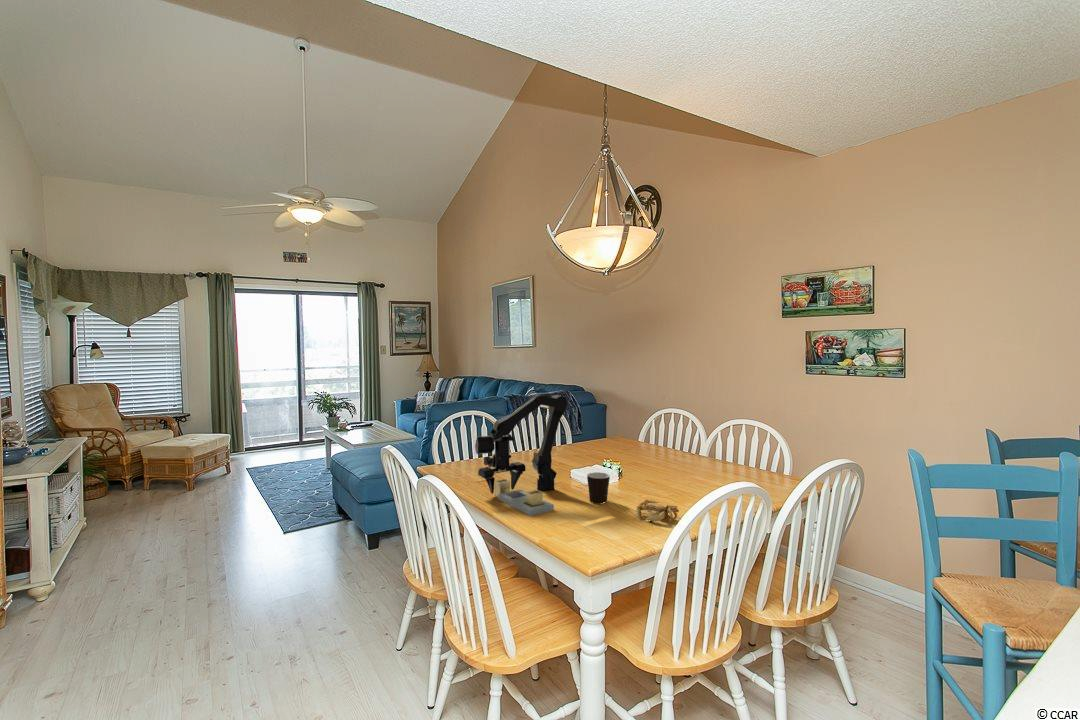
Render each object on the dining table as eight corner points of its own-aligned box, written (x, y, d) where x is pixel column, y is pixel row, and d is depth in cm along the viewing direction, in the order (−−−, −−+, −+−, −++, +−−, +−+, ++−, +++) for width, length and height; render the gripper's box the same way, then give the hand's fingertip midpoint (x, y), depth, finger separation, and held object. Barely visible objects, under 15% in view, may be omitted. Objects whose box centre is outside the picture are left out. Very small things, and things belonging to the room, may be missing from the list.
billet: (504, 493, 202) (504, 478, 202) (509, 496, 198) (509, 480, 198) (494, 495, 199) (494, 480, 199) (500, 498, 196) (500, 482, 195)
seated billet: (535, 506, 183) (535, 489, 183) (542, 509, 180) (542, 492, 179) (525, 508, 181) (525, 491, 181) (532, 511, 177) (532, 494, 177)
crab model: (625, 516, 176) (625, 501, 176) (649, 508, 184) (649, 493, 184) (661, 529, 164) (661, 512, 164) (685, 520, 172) (685, 504, 172)
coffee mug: (593, 496, 198) (593, 471, 197) (613, 500, 193) (613, 474, 192) (578, 504, 188) (578, 477, 188) (598, 508, 183) (599, 481, 183)
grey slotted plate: (498, 501, 191) (498, 493, 191) (520, 497, 197) (520, 489, 197) (530, 518, 173) (530, 510, 173) (553, 512, 179) (553, 504, 179)
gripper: (511, 445, 210) (511, 482, 211) (471, 451, 199) (471, 490, 200) (526, 450, 201) (526, 489, 202) (484, 456, 190) (485, 497, 191)
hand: (502, 491), depth 199 cm, fingers open, 9 cm apart
